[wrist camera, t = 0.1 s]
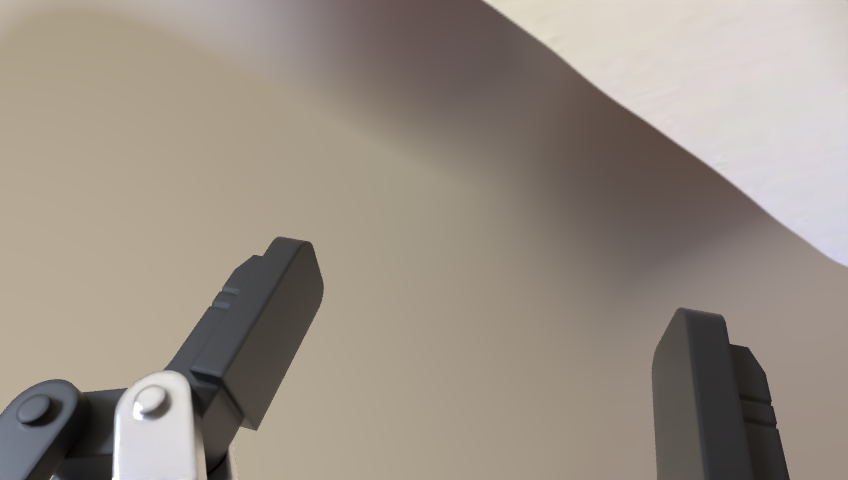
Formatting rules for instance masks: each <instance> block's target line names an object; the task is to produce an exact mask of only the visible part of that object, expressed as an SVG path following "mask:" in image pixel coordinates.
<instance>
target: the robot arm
mask: <svg viewBox="0 0 848 480" xmlns="http://www.w3.org/2000/svg"><path fill="white" fill-rule="evenodd" d="M323 289H324V285H323V280H322V276H321V273H320V269H319V266H318V263H317V259H316V255H315V252H314V248H313V245H312V244H311V243H310V242H308V241H303V240H296V239H291V238H285V237H277V238H276V239H274V240H273V242H272V243H271V245H270V246H269V247H268V249H267V250H266V252H265V254H264V255H263V256H257V255H253V256H252V257H251V258H250V259H248V260H247V261H246V262H244V263H243V264H242V265H240V266H239V267H238V268H236V269H235V270H234V272H233V273H232V275H231V276H230V278H229V279H228V280H227V282H226V283H225V285H224V286H223V289H222V291H221V292H219V293H218V295H217V296H216V298H215V299H214V301H213V302H212V306H211V307H209V308H208V309H207V311H206V312H205V314H204V315H203V316H202V318H201V319H200V321H199V322H198V324H197V325H196V326H195V328H194V329H193V331H192V332H191V334H190V335H189V337H188V338H187V339H186V341H185V342H184V344H183V345H182V347H181V348H180V349H179V351H178V352H177V354H176V355H175V357H174V358H173V360H172V361H171V362H170V364H169V365H168V366H167V367H166V368H165V369H164V370H162V371H157V372H153V373H150V374H148V375H146V376H144V377H142V378H140V379H139V380H137V381H136V382H135V383H133V384H132V385H131V386H130V387H129V388H124V389H114V390H103V391H94V392H83V393H82V392H81V391H79V390H78V389H77V388H76V387H75V386H74V385H73V384H72V383H70V382H68V381H66V380H60V379H55V380H48V381H44V382H41V383H38V384H36V385H34V386H32V387H30V388H28V389H27V390H25V391H24V392H22V393H21V394H20V395H18V396H17V397H16V398H15V399H14V400H13V401H12V402H11V403H10V404H9V405H8V406H7V407H6V409H5V410H4V411H3V412H2V414H1V415H0V480H49V479H50V478H51V476H52V475H54V477H53V479H52V480H239V479H238V472H237V465H236V458H235V450H234V444H233V441H232V440H233V438H234V437H235V435H236V433H237V431H238V429H239V427H240V426H241V427H244V428H248V429H252V430H257V429H258V427H259V425H260V423H261V421H262V419H263V417H264V415H265V413H266V411H267V410H268V408H269V406H270V404H271V402H272V400H273V398H274V396H275V394H276V392H277V389H278V388H279V386H280V384H281V382H282V380H283V378H284V376H285V374H286V372H287V370H288V368H289V366H290V364H291V362H292V360H293V358H294V356H295V354H296V352H297V350H298V348H299V346H300V344H301V342H302V340H303V338H304V336H305V335H306V333H307V330H308V328H309V327H310V325H311V323H312V321H313V318H314V317H315V315H316V313H317V311H318V309H319V307H320V304H321V301H322V297H323ZM652 390H653V409H654V426H655V445H656V463H657V480H790V479H789V474H788V470H787V465H786V461H785V457H784V453H783V448H782V444H781V439H780V435H779V430H778V429H776V424H777V422H776V417H775V413H774V409H773V406H771V401H772V400H771V396H770V391H769V387H768V382H767V378H766V374H765V372H764V371H763V369H762V368H761V366H760V365H759V363H758V362H757V360H756V359H755V357H754V356H753V354H752V353H751V351H750V350H749V348H748V347H743V346H738V345H732V344H729V338H728V333H727V327H726V322H725V320H724V318H723V316H722V315H720V314H715V313H709V312H704V311H698V310H692V309H686V308H679V309H677V311H676V312H675V314H674V316H673V318H672V320H671V322H670V323H669V325H668V327H667V329H666V331H665V333H664V335H663V336H662V338H661V340H660V342H659V344H658V346H657V348H656V350H655V353H654V358H653V364H652Z"/></svg>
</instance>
